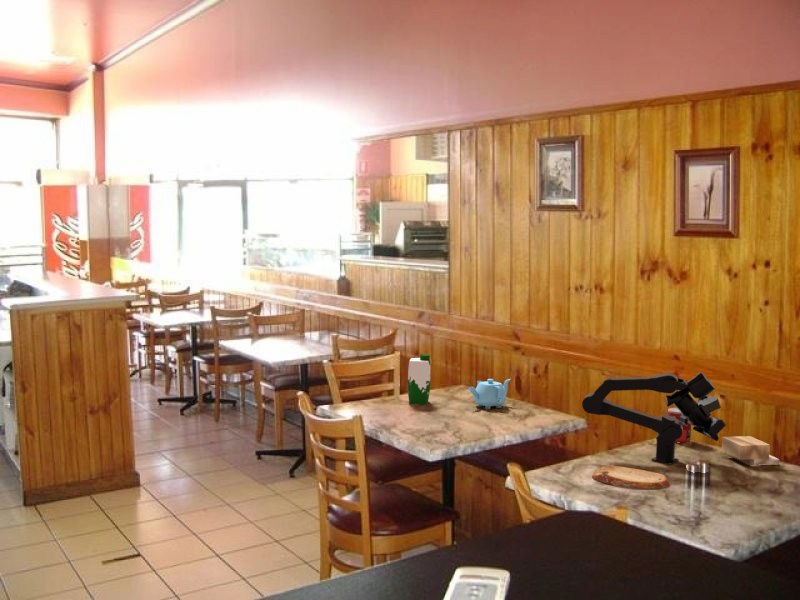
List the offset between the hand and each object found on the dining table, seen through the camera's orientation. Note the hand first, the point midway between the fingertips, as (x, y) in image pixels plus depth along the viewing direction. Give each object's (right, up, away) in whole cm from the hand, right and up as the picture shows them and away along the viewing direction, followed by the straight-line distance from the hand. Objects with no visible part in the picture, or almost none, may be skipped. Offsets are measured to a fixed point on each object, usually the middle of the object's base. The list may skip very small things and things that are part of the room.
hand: (717, 439), depth 276 cm
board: (+12, -7, +3) cm, 15 cm away
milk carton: (-94, +2, +79) cm, 123 cm away
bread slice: (-34, -9, -22) cm, 42 cm away
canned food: (-4, -5, +26) cm, 26 cm away
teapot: (-66, +1, +75) cm, 100 cm away
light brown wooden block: (+5, -3, +1) cm, 6 cm away
